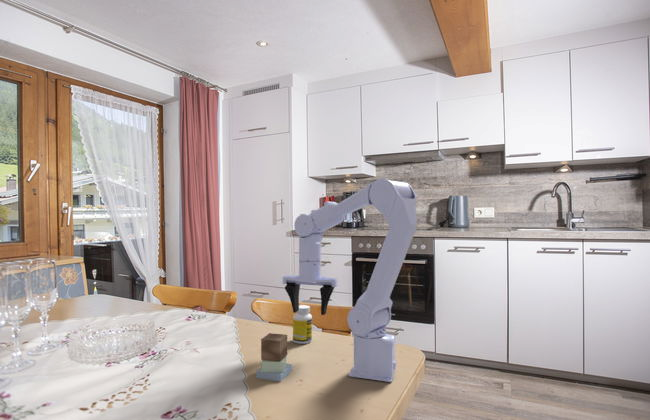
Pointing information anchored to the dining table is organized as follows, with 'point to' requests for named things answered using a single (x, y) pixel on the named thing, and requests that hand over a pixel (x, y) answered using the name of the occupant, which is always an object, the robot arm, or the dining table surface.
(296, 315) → the supplement bottle
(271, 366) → the sage block
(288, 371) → the slate slab
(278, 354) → the walnut cube
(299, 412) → the dining table surface
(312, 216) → the robot arm
